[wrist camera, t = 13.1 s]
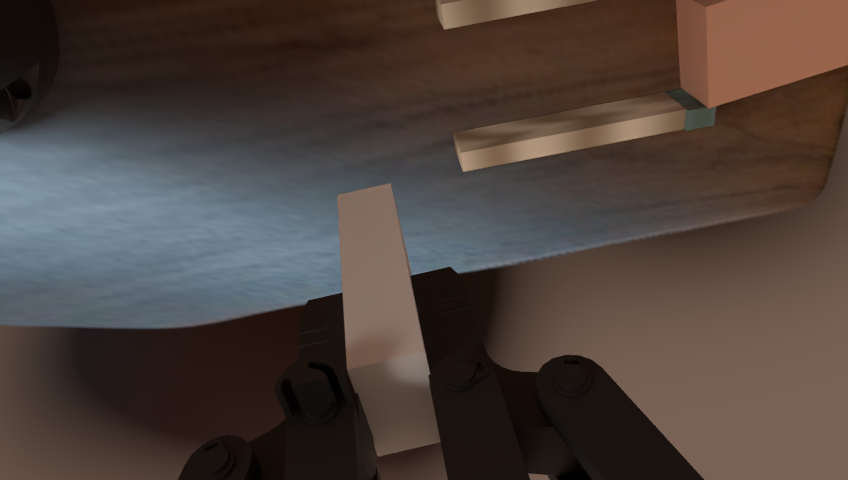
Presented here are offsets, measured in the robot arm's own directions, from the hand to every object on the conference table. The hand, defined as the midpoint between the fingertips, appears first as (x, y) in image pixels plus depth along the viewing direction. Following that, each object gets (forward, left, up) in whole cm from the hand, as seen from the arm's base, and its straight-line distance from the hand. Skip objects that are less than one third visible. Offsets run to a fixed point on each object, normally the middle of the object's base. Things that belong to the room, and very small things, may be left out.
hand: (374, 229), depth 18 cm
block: (+27, -6, -27) cm, 39 cm away
